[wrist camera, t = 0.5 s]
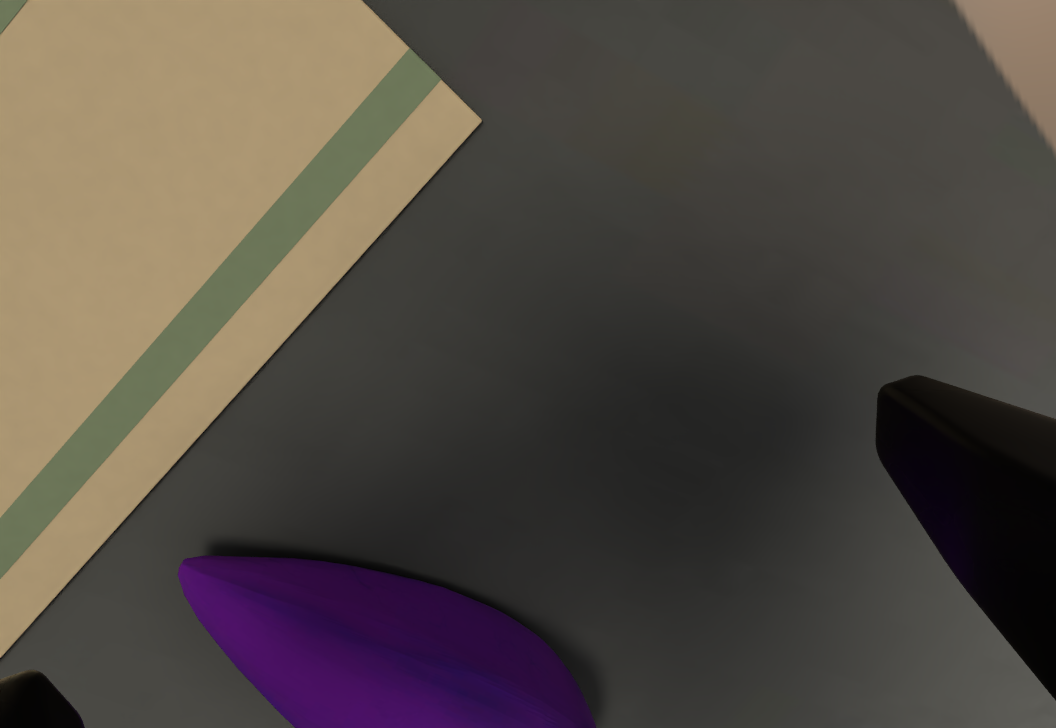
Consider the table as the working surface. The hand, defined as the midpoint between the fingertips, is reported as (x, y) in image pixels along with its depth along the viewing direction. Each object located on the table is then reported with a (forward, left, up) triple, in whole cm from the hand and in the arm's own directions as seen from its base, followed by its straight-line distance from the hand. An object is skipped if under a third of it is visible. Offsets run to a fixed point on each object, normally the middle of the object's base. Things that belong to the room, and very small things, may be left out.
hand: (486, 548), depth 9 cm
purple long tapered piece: (-9, -10, -14) cm, 19 cm away
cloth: (-6, +5, -14) cm, 16 cm away
